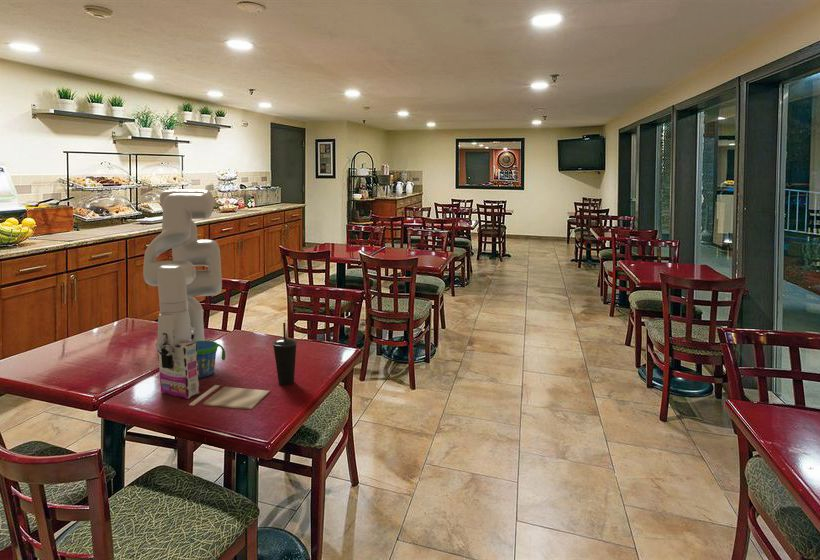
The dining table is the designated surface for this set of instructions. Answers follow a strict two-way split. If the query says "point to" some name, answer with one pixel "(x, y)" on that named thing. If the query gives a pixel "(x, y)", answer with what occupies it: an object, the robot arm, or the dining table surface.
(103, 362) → the dining table surface
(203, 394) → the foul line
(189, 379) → the candy bar box
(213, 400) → the board
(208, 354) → the snack cup
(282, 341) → the drinking cup
